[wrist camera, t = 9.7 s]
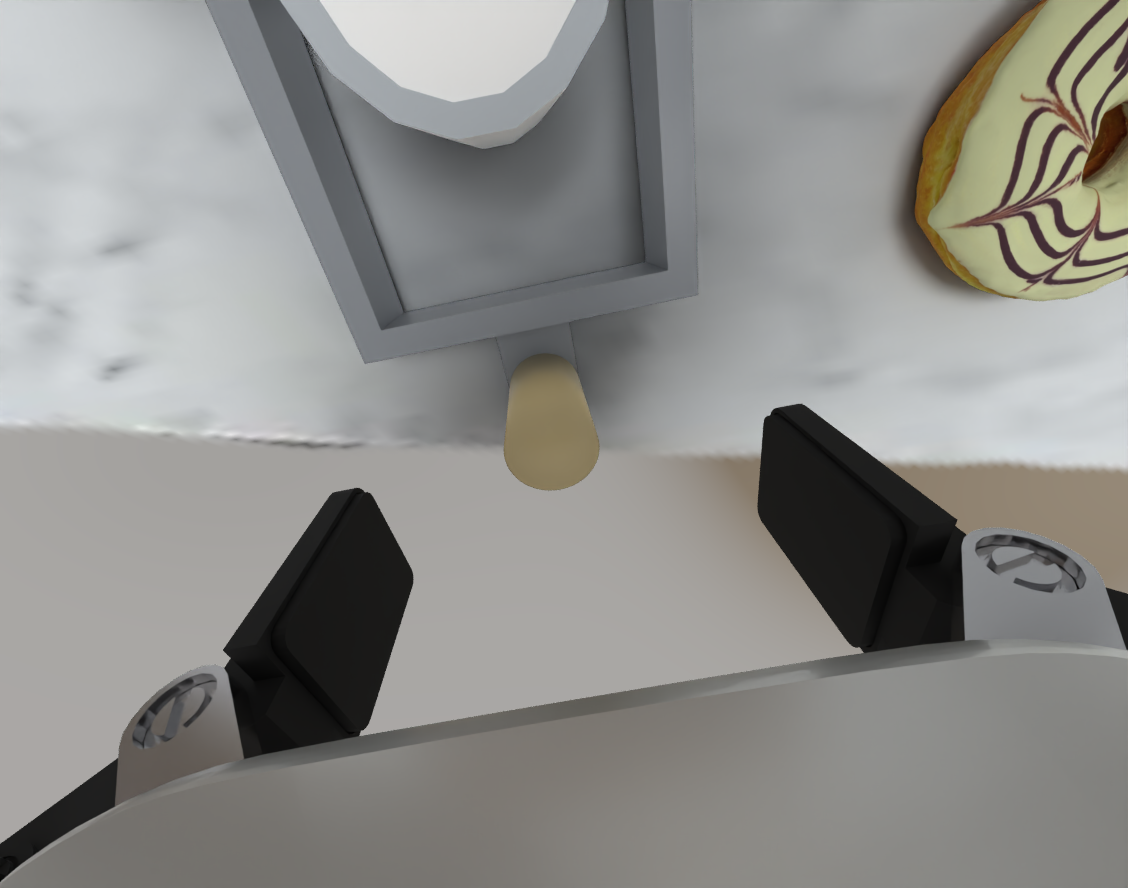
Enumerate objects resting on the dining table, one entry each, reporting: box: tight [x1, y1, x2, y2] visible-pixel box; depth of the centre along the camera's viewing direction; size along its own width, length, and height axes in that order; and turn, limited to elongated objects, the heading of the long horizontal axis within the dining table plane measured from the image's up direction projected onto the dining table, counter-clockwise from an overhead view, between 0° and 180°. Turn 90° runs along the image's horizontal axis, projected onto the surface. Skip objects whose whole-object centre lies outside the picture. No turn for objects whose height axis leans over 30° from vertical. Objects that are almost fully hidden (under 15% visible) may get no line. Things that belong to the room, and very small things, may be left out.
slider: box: [205, 0, 698, 490], centre depth 11 cm, size 22×12×6 cm, turn 11°
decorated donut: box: [915, 0, 1128, 301], centre depth 15 cm, size 10×11×4 cm
